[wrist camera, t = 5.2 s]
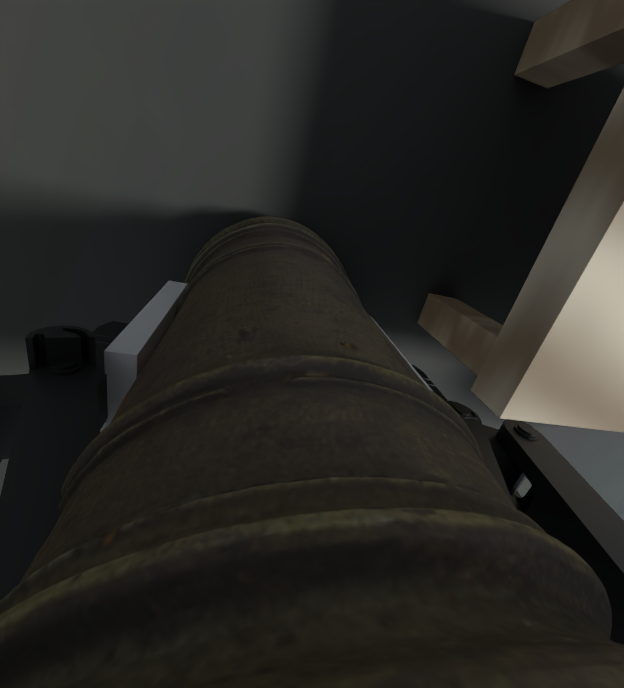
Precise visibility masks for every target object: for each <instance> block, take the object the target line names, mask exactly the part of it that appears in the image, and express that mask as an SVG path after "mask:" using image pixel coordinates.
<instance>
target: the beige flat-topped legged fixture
mask: <svg viewBox="0 0 624 688" xmlns="http://www.w3.org/2000/svg"><path fill="white" fill-rule="evenodd" d="M623 63H624V0H571V1H569V2H567V3H565V4H564V5H562V6H560V7H559V8H557V9H555V10H554V11H552V12H550V13H548V14H547V15H545V16H543V17H542V18H540V19H538V20H537V21H535V22H534V25H533V27H532V30H531V33H530V35H529V38H528V40H527V43H526V45H525V48H524V51H523V53H522V56H521V58H520V61H519V63H518V66H517V68H516V71H515V74H514V75H515V76H518V77H520V78H523V79H525V80H528V81H530V82H532V83H535V84H537V85H540V86H542V87H545V88H550V87H553V86H556V85H559V84H562V83H565V82H568V81H571V80H574V79H577V78H580V77H583V76H586V75H589V74H592V73H595V72H598V71H601V70H605V69H608V68H611V67H614V66H617V65H620V64H623ZM417 323H418V324H419V325H420V326H421V327H422V328H424V329H425V330H426V331H427V332H428V333H429V334H430V335H432V336H433V337H434V338H435V339H436V340H437V341H438V342H440V343H441V344H442V345H443V346H444V347H445V348H446V349H448V350H449V351H450V352H451V353H452V354H453V355H454V356H456V357H457V358H458V359H459V360H460V361H461V362H462V363H464V364H465V365H466V366H467V367H468V368H469V369H471V370H472V371H473V372H474V373H475V374H476V375H477V378H476V380H475V382H474V384H473V386H472V388H471V391H472V392H473V393H474V394H475V395H476V396H477V397H478V398H479V399H480V400H481V401H482V402H483V403H484V404H485V405H486V406H488V407H489V408H490V409H491V410H492V411H493V412H494V413H495V414H496V415H497V416H498V417H499V418H502V419H511V420H519V421H528V422H537V423H546V424H554V425H563V426H572V427H581V428H590V429H598V430H607V431H616V432H624V88H623V90H622V92H621V94H620V96H619V98H618V100H617V102H616V104H615V105H614V107H613V109H612V111H611V113H610V115H609V117H608V119H607V121H606V123H605V125H604V127H603V129H602V131H601V133H600V135H599V137H598V139H597V141H596V143H595V145H594V147H593V149H592V151H591V153H590V155H589V157H588V159H587V161H586V163H585V165H584V167H583V169H582V171H581V173H580V175H579V177H578V179H577V181H576V183H575V184H574V186H573V188H572V190H571V192H570V194H569V196H568V198H567V200H566V202H565V204H564V206H563V208H562V210H561V212H560V214H559V216H558V218H557V220H556V222H555V224H554V226H553V228H552V230H551V232H550V234H549V236H548V238H547V240H546V242H545V244H544V246H543V248H542V250H541V252H540V254H539V256H538V258H537V260H536V262H535V264H534V265H533V267H532V269H531V271H530V273H529V275H528V277H527V279H526V281H525V283H524V285H523V287H522V289H521V291H520V293H519V295H518V297H517V299H516V301H515V303H514V305H513V307H512V309H511V311H510V313H509V315H508V317H507V319H506V321H505V323H504V325H501V324H500V323H498V322H496V321H494V320H493V319H491V318H489V317H487V316H486V315H484V314H482V313H481V312H479V311H477V310H475V309H474V308H472V307H470V306H468V305H467V304H465V303H463V302H461V301H460V300H458V299H455V298H450V297H445V296H441V295H436V294H431V293H429V294H428V296H427V299H426V302H425V304H424V307H423V309H422V312H421V314H420V317H419V319H418V322H417Z"/></svg>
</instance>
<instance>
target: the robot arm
mask: <svg viewBox="0 0 624 688" xmlns="http://www.w3.org/2000/svg"><path fill="white" fill-rule="evenodd" d="M187 286H188V284H186V283H181V282H175V281H170V280H169V281H168V282H167V283H166V284H165V285H164V286H163V288H162V289H161V290H160V291H159V292H158V293H157V294H156V295H155V296H154V297H153V298H152V299H151V301H150V302H149V303H148V304H147V305H146V306H145V307H144V308H143V309H142V310H141V311H140V312H139V314H138V315H137V316H136V317H135V318H134V319H133V320H132V321H131V322H130V323H129V324H127V323H120V322H113V321H112V322H110V323H107V324H104V325H101V326H99V327H98V328H97V329H96V330H95V331H94V332H91V331H89V330H87V329H84V328H79V327H74V326H54V327H47V328H42V329H38V330H36V331H34V332H31V333H29V335H28V336H27V337H26V338H25V339H26V346H27V354H28V361H29V368H30V370H29V374H20V375H2V376H0V462H1V460H2V459H8V458H9V461H8V466H7V470H6V474H5V479H4V483H3V487H2V492H1V496H0V601H1V600H2V599H3V598H4V597H5V596H6V595H8V594H9V593H10V592H11V591H12V590H13V589H14V588H15V587H16V586H18V585H19V584H20V582H21V580H22V578H23V577H24V575H25V574H26V572H27V570H28V569H29V567H30V565H31V564H32V562H33V560H34V558H35V556H36V555H37V553H38V552H39V550H40V549H41V547H42V546H43V544H44V543H45V541H46V540H47V538H48V537H49V535H50V534H51V532H52V530H53V528H54V527H55V525H56V523H57V521H58V519H59V517H60V515H61V511H60V510H59V505H60V502H61V500H62V496H61V488H62V486H63V484H64V482H65V479H66V477H67V475H68V473H69V471H70V470H71V468H72V466H73V465H74V464H75V462H76V461H77V459H78V458H79V456H80V455H81V453H82V452H83V451H84V450H85V449H86V447H87V446H88V445H89V444H90V443H91V442H92V441H93V440H94V439H95V438H96V437H97V436H98V435H99V434H100V429H101V428H102V426H103V425H104V423H105V421H106V427H107V426H108V425H109V424H110V423H111V421H112V419H113V417H114V415H115V414H116V412H117V410H118V408H119V406H120V404H121V403H122V401H123V399H124V398H125V396H126V394H127V393H128V391H129V390H130V388H131V386H132V385H133V383H134V382H135V380H136V379H137V377H138V375H139V374H140V372H141V370H142V369H143V367H144V366H145V364H146V363H147V361H148V360H149V358H150V357H151V356H152V354H153V353H154V351H155V349H156V348H157V346H158V345H159V343H160V342H161V340H162V339H163V337H164V335H165V333H166V332H167V330H168V328H169V327H170V325H171V324H172V322H173V321H174V316H175V312H176V307H177V305H178V302H179V300H180V298H181V296H182V294H183V293H184V291H185V289H186V288H187ZM371 318H372V317H371ZM372 319H373V318H372ZM373 320H374V319H373ZM374 322H375V323H376V321H375V320H374ZM376 324H377V323H376ZM377 325H378V324H377ZM378 326H379V325H378ZM379 328H380V329H381V327H380V326H379ZM381 330H382V329H381ZM382 332H383V333H384V334H385V332H384V331H383V330H382ZM385 335H386V334H385ZM386 337H387V338H388V339H389V340H390V338H389V337H388V336H387V335H386ZM390 341H391V340H390ZM391 343H392V344H393V345H394V346H395V344H394V343H393V342H392V341H391ZM395 348H396V349H397V350H398V352H399V353H400V354H401V355H402V357H403V358H404V359H405V360H406V361H407V363H408V364H409V365H410V367H411V368H412V369H413V371H414V372H415V373H416V374H417V375H418V377H419V378H420V379H421V380H422V381H423V383H424V384H425V385H426V386H427V387H428V389H430V390H431V391H433V392H434V393H436V394H437V395H438V396H439V397H441V398H442V399H443V400H444V401H445V402H446V403H448V404H449V405H450V406H451V407H452V408H453V409H454V410H455V411H456V412H457V413H458V414H459V415H460V417H461V418H462V419H463V421H464V422H465V423H466V425H467V426H468V428H469V429H470V431H471V433H472V434H473V436H474V438H475V440H476V442H477V444H478V446H479V449H480V451H481V454H482V457H483V461H484V463H485V466H486V467H487V469H488V470H489V471H490V472H491V474H492V475H493V476H494V478H495V479H496V480H497V482H498V483H499V485H500V486H501V488H502V489H503V491H504V492H505V493H506V495H507V496H508V497H509V499H510V500H511V502H512V503H513V505H514V506H515V507H516V509H517V510H519V511H521V512H522V513H524V514H525V515H527V516H528V517H530V518H531V519H532V520H533V521H534V522H536V523H537V524H538V525H539V526H540V527H541V528H542V529H543V530H544V531H545V532H546V533H547V534H548V535H550V536H552V537H554V538H555V539H557V540H559V541H560V542H562V543H563V544H564V545H566V546H568V547H569V548H571V549H572V550H573V551H575V552H576V553H577V554H578V555H579V556H580V557H581V558H582V559H583V560H584V561H585V562H586V563H587V564H588V565H589V566H590V567H591V568H592V569H593V571H594V572H595V574H596V575H597V577H598V578H599V579H600V581H601V582H602V584H603V586H604V588H605V590H606V593H607V595H608V599H609V602H610V606H611V611H612V629H611V637H610V640H612V641H613V642H615V643H619V644H623V645H624V521H623V520H622V519H621V518H620V517H619V516H618V515H617V513H616V512H615V511H614V510H613V509H612V508H611V507H610V506H609V505H608V504H607V503H606V502H605V501H604V500H603V499H602V498H601V496H600V495H599V494H598V493H597V492H596V491H595V490H594V489H593V488H592V487H591V486H590V485H589V484H588V483H587V482H586V481H585V479H584V478H583V477H582V476H581V475H580V474H579V473H578V472H577V471H576V470H575V469H574V468H573V467H572V466H571V465H570V464H569V462H568V461H567V460H566V459H565V458H564V457H563V456H562V455H561V454H560V453H559V452H558V451H557V450H556V449H555V448H554V447H553V445H552V444H551V443H550V442H549V441H548V440H547V439H546V438H545V437H544V436H543V435H542V434H541V433H539V432H538V431H537V430H535V429H534V428H533V427H532V426H530V425H529V424H526V423H524V422H522V421H516V420H511V419H507V420H505V421H504V422H503V424H502V425H501V427H500V429H499V430H498V429H495V428H492V427H488V426H485V425H482V422H481V420H480V418H479V417H478V415H477V414H476V413H475V412H473V411H472V410H471V409H469V408H468V407H466V406H464V405H462V404H459V403H457V402H453V401H448V400H447V399H446V398H445V397H444V396H443V395H442V393H441V392H440V391H439V390H438V389H437V388H436V387H435V386H434V384H433V383H432V382H431V381H429V378H428V377H427V376H426V375H425V374H424V372H422V371H421V370H420V369H418V368H417V367H415V366H414V365H411V364H410V363H409V361H408V360H407V359H406V358H405V357H404V355H403V354H402V353H401V352H400V351H399V349H398V348H397V347H396V346H395ZM526 477H527V479H528V480H529V481H530V483H531V484H532V486H531V488H530V489H529V491H528V492H527V493H526V495H525V496H524V497H523V498H522V497H521V496H520V494H519V493H518V491H517V490H518V488H519V487H520V485H521V484H522V482H523V481H524V479H525V478H526Z"/></svg>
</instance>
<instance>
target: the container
mask: <svg viewBox="0 0 624 688" xmlns="http://www.w3.org/2000/svg"><path fill="white" fill-rule="evenodd" d="M184 283H186V284H188V286H187V288H186V289H185V291H184V293H183V294H182V296H181V298H180V300H179V302H178V305H177V307H176V312H175V316H174V321H173V322H172V324H171V325H170V327H169V328H168V330H167V332H166V333H165V335H164V337H163V339H162V340H161V342H160V343H159V345H158V346H157V348H156V349H155V351H154V353H153V354H152V356H151V357H150V358H149V360H148V361H147V363H146V364H145V366H144V367H143V369H142V370H141V372H140V374H139V375H138V377H137V379H136V380H135V382H134V383H133V385H132V386H131V388H130V390H129V391H128V393H127V394H126V396H125V398H124V399H123V401H122V403H121V404H120V406H119V408H118V410H117V412H116V414H115V415H114V417H113V419H112V421H111V423H110V424H109V425H108V426H107V427H106V428H105V429H104V430H103V431H102V432H101V433H100V434H99V435H98V436H97V437H96V438H95V439H94V440H93V441H92V442H91V443H90V444H89V445H88V446H87V447H86V449H85V450H84V451H83V452H82V453H81V455H80V456H79V458H78V459H77V461H76V462H75V464H74V465H73V466H72V468H71V470H70V471H69V473H68V475H67V477H66V479H65V482H64V484H63V486H62V488H61V496H62V500H61V502H60V505H59V510H60V511H61V515H60V517H59V519H58V521H57V523H56V525H55V527H54V528H53V530H52V532H51V534H50V535H49V537H48V538H47V540H46V541H45V543H44V544H43V546H42V547H41V549H40V550H39V552H38V553H37V555H36V556H35V558H34V560H33V562H32V564H31V565H30V567H29V569H28V570H27V572H26V574H25V575H24V577H23V578H22V580H21V582H20V584H19V585H18V586H16V587H15V588H14V589H13V590H12V591H11V592H10V593H9V594H8V595H6V596H5V597H4V598H3V599H2V600H1V601H0V688H624V645H623V644H619V643H615V642H613V641H612V640H610V637H611V629H612V611H611V606H610V602H609V599H608V595H607V593H606V590H605V588H604V586H603V584H602V582H601V581H600V579H599V578H598V577H597V575H596V574H595V572H594V571H593V569H592V568H591V567H590V566H589V565H588V564H587V563H586V562H585V561H584V560H583V559H582V558H581V557H580V556H579V555H578V554H577V553H576V552H575V551H573V550H572V549H571V548H569V547H568V546H566V545H564V544H563V543H562V542H560V541H559V540H557V539H555V538H554V537H552V536H550V535H548V534H547V533H546V532H545V531H544V530H543V529H542V528H541V527H540V526H539V525H538V524H537V523H536V522H534V521H533V520H532V519H531V518H530V517H528V516H527V515H525V514H524V513H522V512H521V511H519V510H517V509H516V507H515V506H514V505H513V503H512V502H511V500H510V499H509V497H508V496H507V495H506V493H505V492H504V491H503V489H502V488H501V486H500V485H499V483H498V482H497V480H496V479H495V478H494V476H493V475H492V474H491V472H490V471H489V470H488V469H487V467H486V466H485V463H484V461H483V457H482V454H481V451H480V449H479V446H478V444H477V442H476V440H475V438H474V436H473V434H472V433H471V431H470V429H469V428H468V426H467V425H466V423H465V422H464V421H463V419H462V418H461V417H460V415H459V414H458V413H457V412H456V411H455V410H454V409H453V408H452V407H451V406H450V405H449V404H448V403H446V402H445V401H444V400H443V399H442V398H441V397H439V396H438V395H437V394H436V393H434V392H433V391H431V390H430V389H428V387H427V386H426V385H425V384H424V383H423V381H422V380H421V379H420V378H419V377H418V375H417V374H416V373H415V372H414V371H413V369H412V368H411V367H410V365H409V364H408V363H407V361H406V360H405V359H404V358H403V357H402V355H401V354H400V353H399V352H398V350H397V349H396V348H395V346H394V345H393V344H392V343H391V341H390V340H389V339H388V338H387V337H386V335H385V334H384V333H383V332H382V330H381V329H380V328H379V326H378V325H377V324H376V323H375V322H374V320H373V319H372V318H371V317H370V315H369V314H368V313H367V312H366V311H365V309H364V308H363V307H362V304H361V301H360V299H359V297H358V295H357V293H356V291H355V289H354V288H353V286H352V284H351V283H350V280H349V277H348V275H347V273H346V271H345V269H344V267H343V265H342V264H341V262H340V261H339V259H338V257H337V256H336V254H335V253H334V251H333V250H332V249H331V247H330V246H329V245H328V244H327V243H326V242H325V241H324V240H323V239H322V238H321V237H320V236H318V235H317V234H316V233H314V232H313V231H312V230H310V229H308V228H307V227H305V226H303V225H301V224H300V223H297V222H295V221H292V220H289V219H285V218H280V217H273V216H262V217H254V218H250V219H246V220H243V221H240V222H237V223H235V224H233V225H231V226H229V227H226V228H224V229H223V230H221V231H220V232H218V233H217V234H216V235H214V236H213V237H212V238H211V239H210V240H209V241H208V242H207V243H206V244H205V245H204V246H203V247H202V249H201V250H200V251H199V252H198V254H197V255H196V257H195V259H194V260H193V262H192V264H191V267H190V269H189V271H188V274H187V277H186V279H185V282H184Z"/></svg>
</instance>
